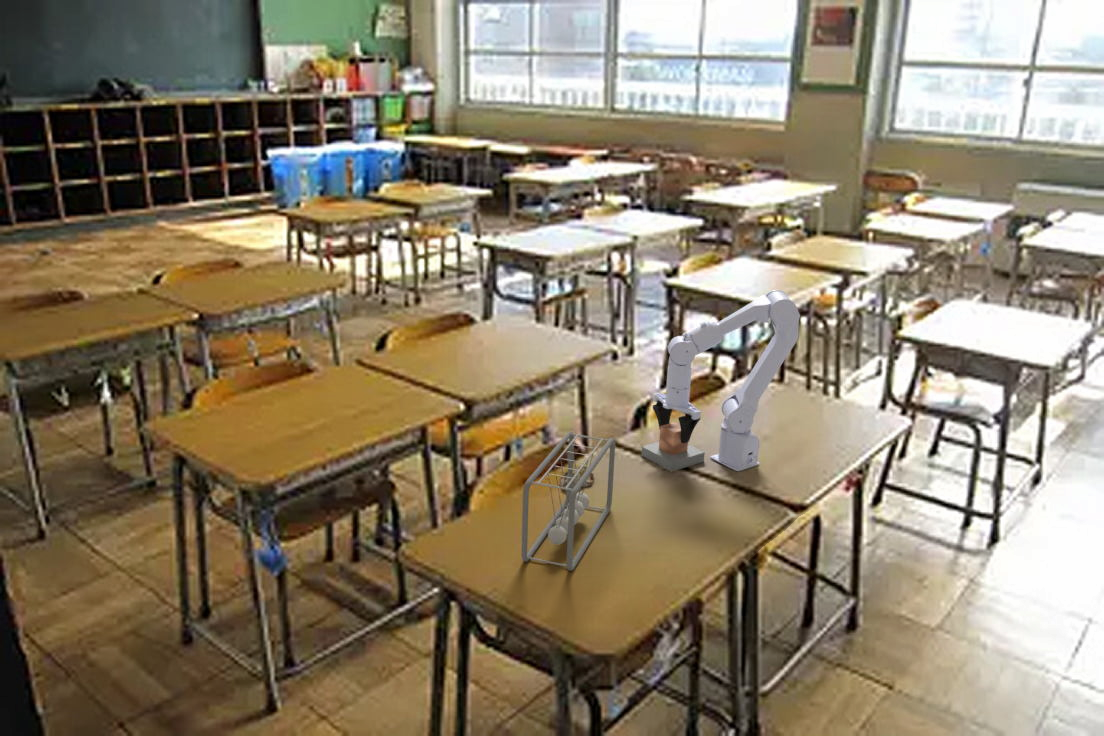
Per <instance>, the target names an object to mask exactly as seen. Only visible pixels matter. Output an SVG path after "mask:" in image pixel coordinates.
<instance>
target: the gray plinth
mask: <svg viewBox="0 0 1104 736" xmlns="http://www.w3.org/2000/svg"><path fill="white" fill-rule="evenodd" d="M641 457H644V459H647V460H648V461H650V460H651V462H652V463H654V464H656V463H657V465H658V466H660V467H662V468H663V469H665V468H666V470H667V471H668V472H671V471H672V472H675V471H679V470H681V469H685V468H687V467H691V466H694V465H696V464H701V463H703V462H704V461H705V451H704V450H703V451H702V450H701V449H699V448H697V447H695V446H693V445H691V444H689V443H688V449H687V451H685V452H682V453H678V454H675V455H671V454H669V453H667V452H665V451H663V450H661V449H659V441H657V442H653V443H650V444H646V445H643V446H641Z"/></svg>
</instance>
